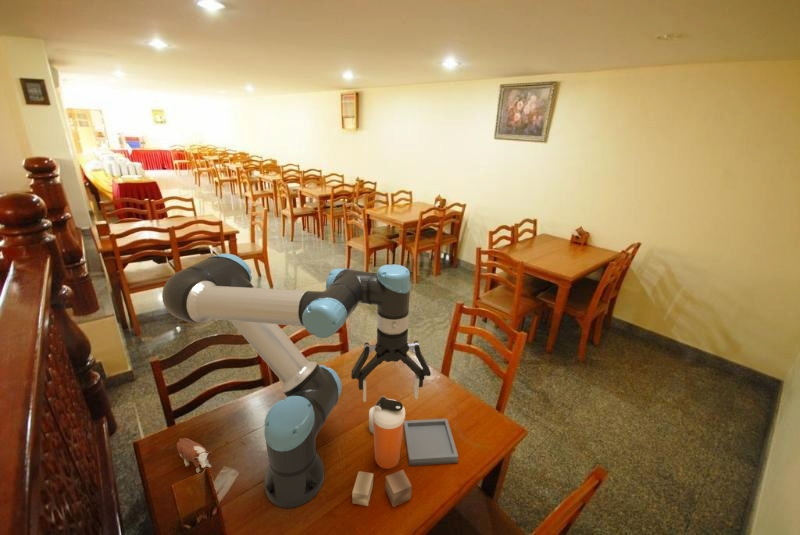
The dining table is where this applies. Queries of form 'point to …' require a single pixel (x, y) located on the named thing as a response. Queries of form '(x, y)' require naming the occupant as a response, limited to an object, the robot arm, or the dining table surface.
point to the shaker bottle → (388, 431)
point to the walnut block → (398, 488)
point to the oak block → (362, 488)
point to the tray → (429, 442)
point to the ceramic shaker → (371, 420)
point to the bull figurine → (193, 453)
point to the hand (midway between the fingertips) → (390, 397)
